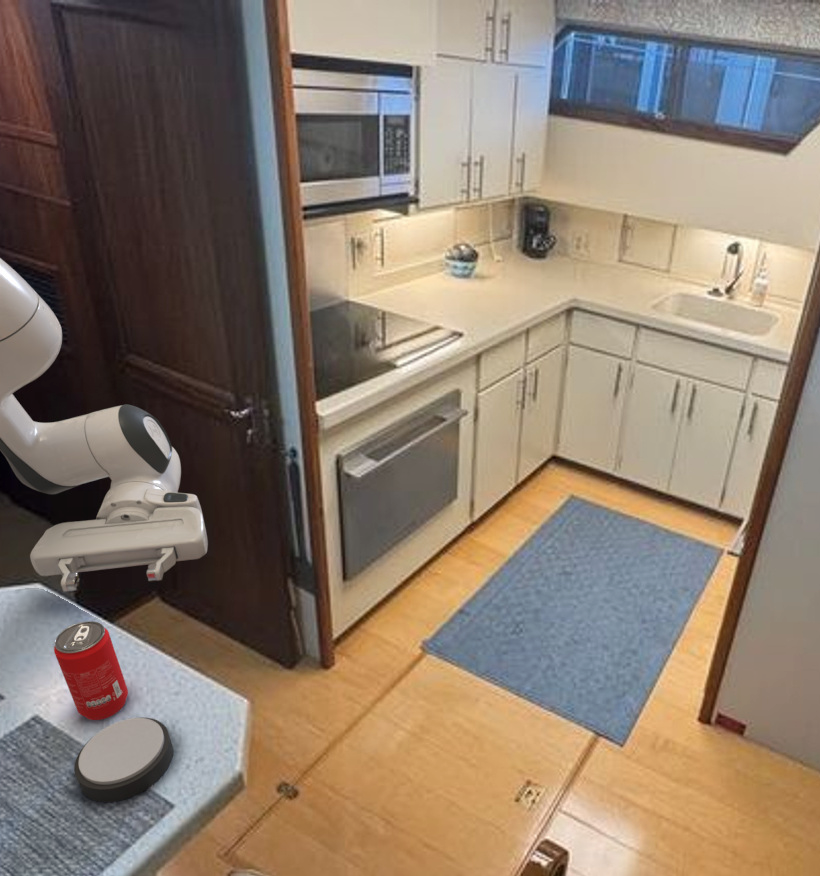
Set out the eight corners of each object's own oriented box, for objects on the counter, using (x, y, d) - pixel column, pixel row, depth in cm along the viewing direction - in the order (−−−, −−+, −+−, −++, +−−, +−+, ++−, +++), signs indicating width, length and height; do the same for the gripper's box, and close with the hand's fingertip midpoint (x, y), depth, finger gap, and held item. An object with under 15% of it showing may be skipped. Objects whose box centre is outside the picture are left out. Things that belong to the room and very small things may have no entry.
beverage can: (72, 726, 82) (43, 656, 76) (87, 690, 86) (61, 622, 80) (122, 720, 84) (98, 651, 78) (135, 685, 88) (113, 617, 82)
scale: (71, 757, 79) (64, 741, 77) (160, 717, 85) (155, 701, 83) (89, 818, 74) (82, 802, 72) (183, 771, 79) (178, 755, 78)
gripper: (42, 507, 96) (6, 574, 85) (208, 493, 103) (195, 554, 92) (55, 542, 99) (22, 611, 88) (215, 526, 106) (203, 589, 95)
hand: (112, 582), depth 90 cm, fingers open, 8 cm apart
